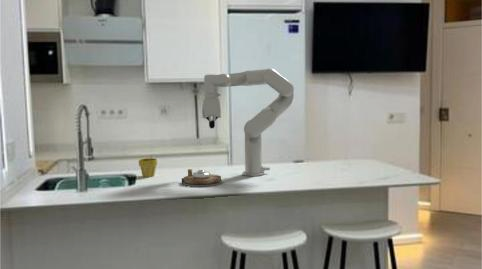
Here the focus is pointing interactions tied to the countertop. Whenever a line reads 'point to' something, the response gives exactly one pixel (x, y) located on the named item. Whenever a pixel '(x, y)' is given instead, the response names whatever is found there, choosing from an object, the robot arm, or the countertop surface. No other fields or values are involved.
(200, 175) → the cover
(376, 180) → the countertop surface
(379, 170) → the countertop surface
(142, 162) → the plant pot
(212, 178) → the turntable
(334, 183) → the countertop surface
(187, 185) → the turntable base
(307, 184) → the countertop surface
